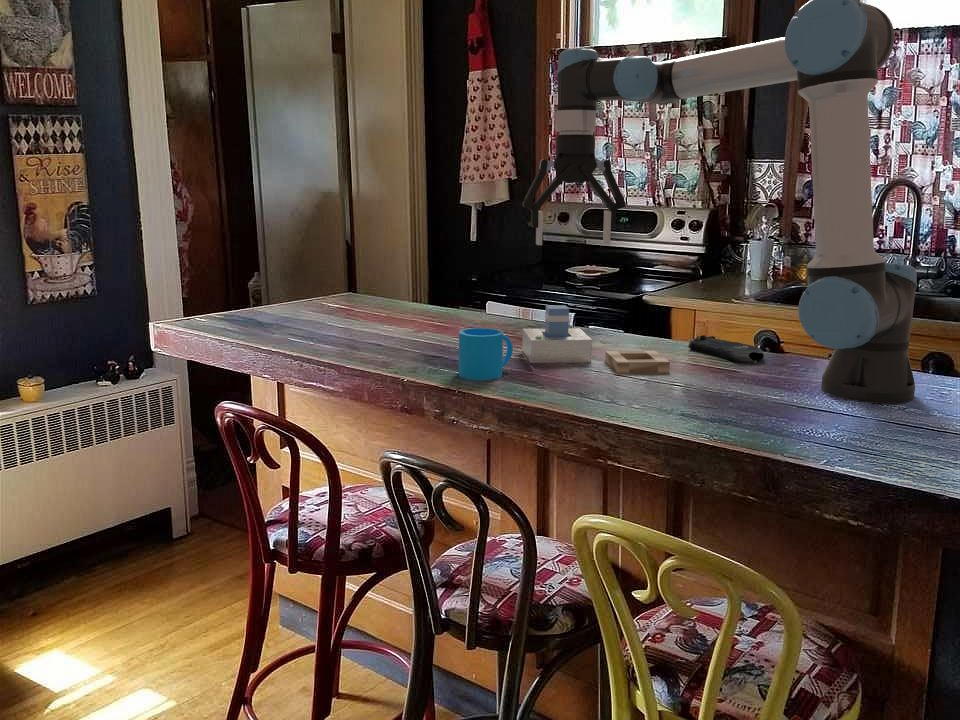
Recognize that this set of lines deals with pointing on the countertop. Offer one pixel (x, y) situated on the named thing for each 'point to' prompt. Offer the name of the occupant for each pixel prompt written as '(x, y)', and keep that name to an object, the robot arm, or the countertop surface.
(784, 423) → the countertop surface
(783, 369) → the countertop surface
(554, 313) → the plug
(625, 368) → the tan flat square frame
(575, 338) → the port block
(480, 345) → the mug
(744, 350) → the electronic device
